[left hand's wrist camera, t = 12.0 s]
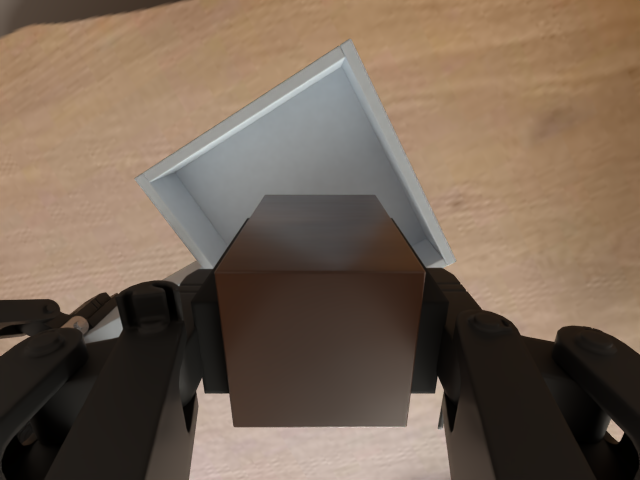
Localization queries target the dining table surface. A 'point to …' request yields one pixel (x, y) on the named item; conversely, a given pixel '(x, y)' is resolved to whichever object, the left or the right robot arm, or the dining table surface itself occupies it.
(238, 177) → the tray
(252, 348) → the block
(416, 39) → the dining table surface
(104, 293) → the right robot arm
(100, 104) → the dining table surface
